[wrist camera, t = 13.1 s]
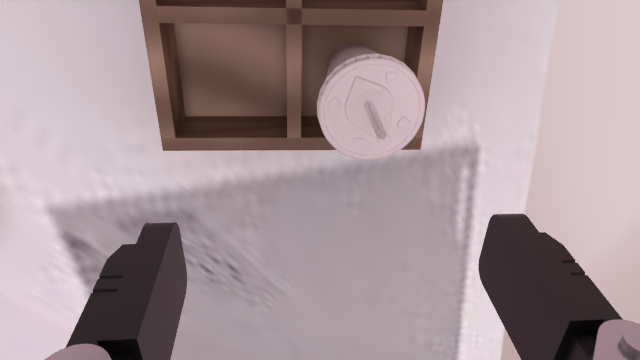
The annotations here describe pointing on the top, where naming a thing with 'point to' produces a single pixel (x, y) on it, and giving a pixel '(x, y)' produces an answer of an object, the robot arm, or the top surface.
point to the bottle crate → (269, 65)
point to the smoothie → (369, 103)
